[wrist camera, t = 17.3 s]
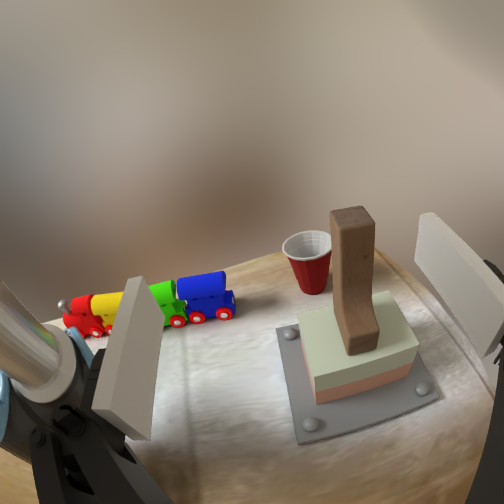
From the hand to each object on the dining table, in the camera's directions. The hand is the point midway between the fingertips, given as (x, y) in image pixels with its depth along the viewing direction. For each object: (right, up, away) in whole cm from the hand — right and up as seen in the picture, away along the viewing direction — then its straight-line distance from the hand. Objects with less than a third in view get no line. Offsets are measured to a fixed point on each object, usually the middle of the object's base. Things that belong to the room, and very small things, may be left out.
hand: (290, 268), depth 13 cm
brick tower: (+16, -19, +34) cm, 42 cm away
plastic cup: (+12, -7, +53) cm, 55 cm away
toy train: (-27, -17, +54) cm, 62 cm away
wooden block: (+13, -11, +28) cm, 33 cm away
